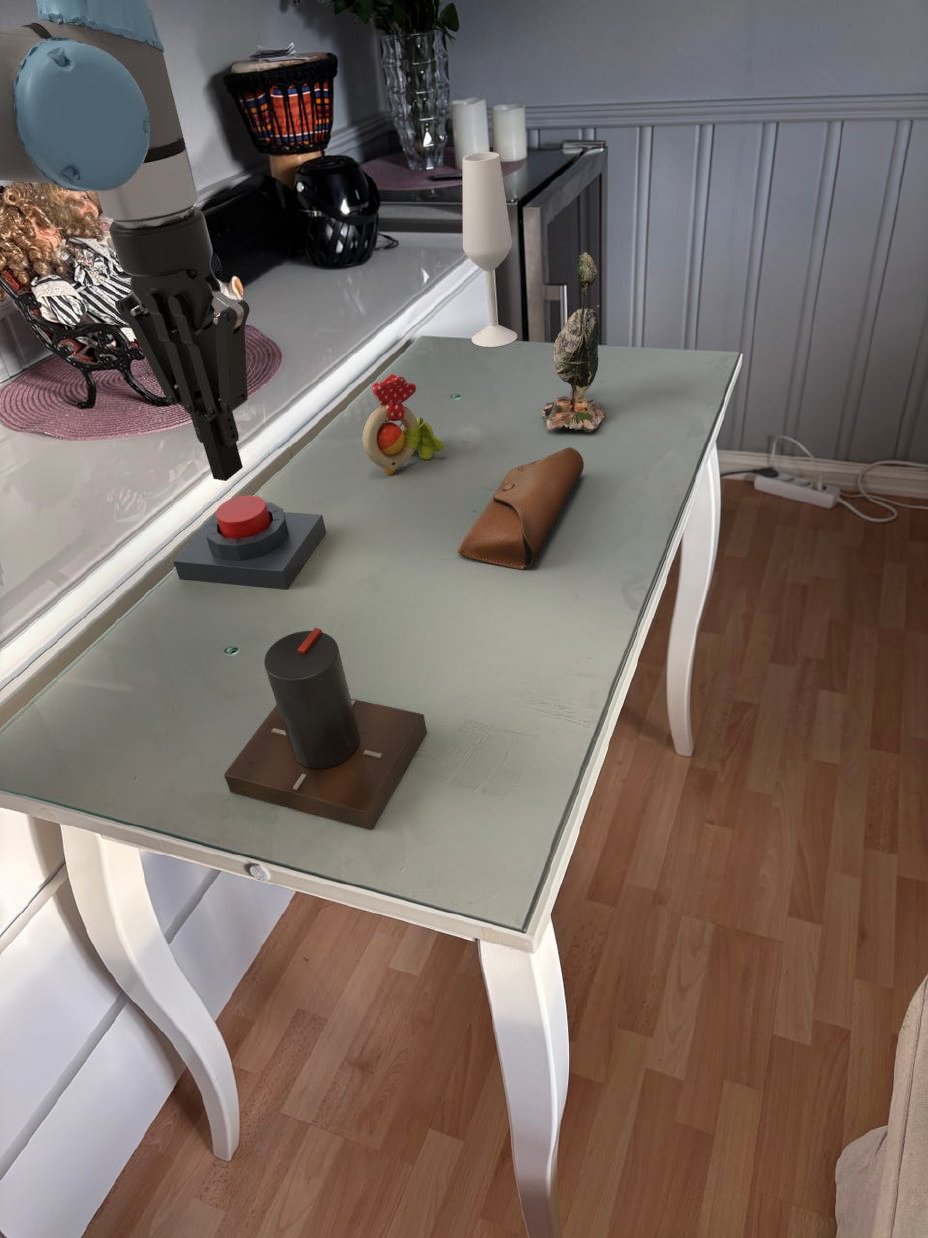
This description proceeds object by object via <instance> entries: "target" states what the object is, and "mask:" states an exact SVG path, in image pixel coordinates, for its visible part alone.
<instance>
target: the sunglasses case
mask: <svg viewBox="0 0 928 1238" xmlns="http://www.w3.org/2000/svg"><path fill="white" fill-rule="evenodd" d="M584 465H585V462H584V459H583V456H582V455H581V454H580V452H579V451H578V450H577V449H575V448H573V447H566V448H563V449H561V450H559V451H556V452H554V453H552V454H550V455H548V456H546V457H544V458H542V459H539V460H535V461H533V462H528V463H525V464H522V465H519V466H516V467H514V468H511V469H510V470H509V472H508V473H507V474H506V476H505V477H504V479H503V481H502V482H501V484H500V485H499V487H498V488H497V489H496V490H495V492H494V493H493V495H492V497H491V499H490V501H489V502H488V503H487V505H486V506H485V508H484V509H483V510H482V512H481V514H480V515H479V516H478V518H477V519H476V521H475V522H474V524H473V525H472V526H471V528H470V529H469V531H468V532H467V534H466V535H465V536H464V539H463V540H462V541H461V543H460V545H459V546H458V550H457V553H458V554H459V555H460V556H462V557H463V558H465V559H466V558H467V559H470V560H473V561H477V562H480V563H484V564H488V565H494V566H499V567H503V568H509V569H513V570H521V571H523V570H526V569H529V568H530V567H532V566H533V564H535V562H536V561H537V560H538V558H539V556H540V554H541V552H542V550H543V548H544V546H545V543H546V541H547V539H548V537H549V536H550V534H551V532H552V530H553V529H554V526H555V524H556V522H557V520H558V518H559V516H560V514H561V512H562V510H563V508H564V506H565V504H567V503H566V502H568V499H569V497H570V495H571V493H572V492H573V490H574V488H575V486H576V484H577V483H578V481H579V480H580V477H581V476H582V473H583V472H584V467H585V466H584Z"/></svg>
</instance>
